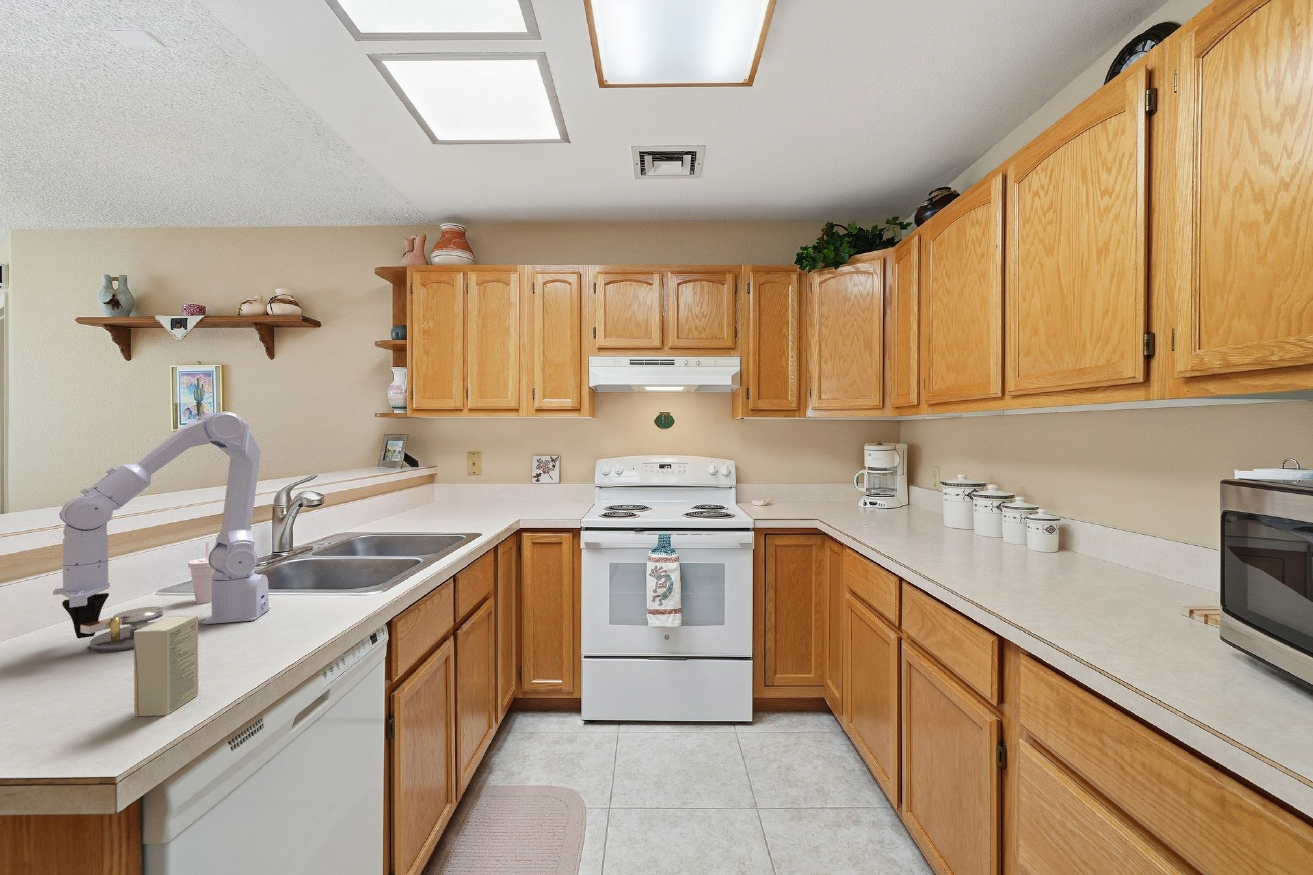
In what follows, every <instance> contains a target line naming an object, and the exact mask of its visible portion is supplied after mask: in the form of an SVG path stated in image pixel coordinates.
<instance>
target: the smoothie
mask: <svg viewBox="0 0 1313 875" xmlns="http://www.w3.org/2000/svg"><path fill="white" fill-rule="evenodd" d="M205 545H206V546H205V556H206V557H203V558H197V559H193V560H190V561H189V562H188V565H187V567H188V568H189V570H190V574H191V575H190V576H191V582H192V589H193V593H194V594H193V595H194V599H195V603H196V604H199V605H202V604H209V603H212V592H211V576H212V575H213V573H214V571H215V569H213V568H212V567H211V566H210V565H209V562H208V557H209V554H210V541H206V542H205Z"/></svg>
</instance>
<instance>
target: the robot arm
mask: <svg viewBox="0 0 1313 875" xmlns="http://www.w3.org/2000/svg"><path fill="white" fill-rule="evenodd" d="M209 444H211V445H213V446H216V447H218V448H219V450H221V451H222V452H223V453H225V454H226V456H229V460H230V461H229V466H228V475H227V482H226V491H225V498H224V506H223V512H222V513H223V515H222V520H221V530H220V531H219V533H218V535H217V536H216V539H215V543H214V547H213V548H212V549H211V550H210V551H209V557H208V562H209V565H210V566H211V567H212V568H213V569H215V571H214V573H213V575H212V576H211V592H212V602H211V616H210V617H208V618H207V619H205V620H203V621H201V624H202V625H210V624H222V623H223V624H224V623H225V624H226V623H237V622H249V621H251V622H252V621H255V620H257V619H258V618H260V617H261V616H262V615H264V614H265V613H266V612H268V611H269V610H270V609H271V607H270V605H269V603H270V602H269V598H270V597H269V596H270V595H269V579H268V577H267V575H265V574H257V573H255V568H256V567H257V565H258V555H257V553H256V551H255V540H254V537H253V533H252V523H253V515H254V506H255V500H256V493H257V492H256V491H257V483H258V475H259V467H260V458H261V447H260V446H259V444H258V443H257V441H256V439H255V437H254V435H253V433H252V431H251V428H250V424H249V423H248V422H247V421H245V420H244V419H243V418H242V417H240V416H239V415H238V414H237V413H234V412H230V411H219V412H207V413H203V414H202V415H200V416H198V417H197V419H196V420H191V421H190V422H188V423H187V424H184V426H182V427H180V428H179V429H178V430H176V431H175V432H173V434H171V435H169V437H168V438H166V439H165V440H163V441H162V442H161V443H160V444H158V445H157V446H156V447H155V448H153V449H152V450H151V451H149V452H148V453H147V454H146V455H145V456H143V457H142V458H141V459H140V460H138V461H137V462H136V463H134V464H133V463H131V464H129V463H125V464H120V465H119V466H118V467H113V466H112V467H109V469H107V470H106V471H105V473H106V475H105V476H104V477H102V478H101V479H99V480H98V481H97V482H96V483H94V484H93V485H92V486H89V488H86V487H83V488H82V489H81V490H79V492H80V493H81V494H82V495H80V496H76V497H73V498H71V499H69V500H67V501H66V502H65V503H64V505H62V508H61V510H60V512H59V513H58V515H59V518H60V520H61V521H62V522H63V523H64V528H63V532H62V533H63V536H64V537H63V539H62V587H60V588H55V589H54V590H52V595H54V596H56V595H62V596H63V597H66V598H68V599H64V600H63V601H62V607H63V608H64V610H66V612H67V613H68V615H69V616H70V618H71V620H72V624H73V629H74V632H75V633H74V634H75V636H76V638H77V640H78V639H85V638H90V637H95V635H96V632H94V633H91V634H87V633H81V627H80V625H81V624H85V623H89V622H93V621H100V617H101V616H100V615H101V612H102V610H103V607H104V604H105V603H106V601H107V599H108V597H109V596H110V594H109V592H104V591H106V590H109V589H110V587H111V583H110V582H109V536H108V523H109V522H110V521H111V519H112V516H113V513H114V511H116V510H119V509H121V508H122V507H123V506H125V505H126V504H128V503H129V502H130V501H131V500H132V499H134V498H135V497H136V496H138V495H139V494H141V492H143V491H144V490H145V489H147V488H148V487H150V485H151V479H152V475H154V474H155V473H156V472H158V471H159V470H161V469H162V468H163V467H164V466H166V465H167V464H169V463H170V462H171V461H173V460H174V459H176V458H177V457H178V456H180V455H182V454H183V453H185V451H187V450H188V449H190V448H194V447H198V446H204V445H209Z"/></svg>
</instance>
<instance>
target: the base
mask: <svg viewBox="0 0 1313 875" xmlns="http://www.w3.org/2000/svg"><path fill="white" fill-rule="evenodd" d="M110 618H111V619H110V628H109V631H106V632H103V633H101V634H98V635H97V636H93V638H91V640H90V643H89V644H90V645H89V648H90V651H91V652H95V653H116V652H118V653H119V652H124V651H125V652H126V651H131V650H130V649H133V650H134V631H136V630H138V629H141V628H143V627H145V626H147V625H150V624H152V623H154V622H155V621H147V622H142V623H137V624H129V625H126V626H123V627H121V625H120V617H114V618H113V617H110Z"/></svg>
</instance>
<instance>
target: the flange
mask: <svg viewBox="0 0 1313 875" xmlns="http://www.w3.org/2000/svg"><path fill="white" fill-rule="evenodd" d="M163 616H164V607H162V606H145V607H137V608H132V609H128V610H124V611H121V612H118V613H116V614H114V615H112V617H110V618H109V617H108V618H106V619H101V620H98V621H93V622H89V623H85V624H81V625H80V627H81V633H87V634H91V633H94V632H95V633H97V632H101V631H105V630H108V629H109V630H110V619H111V618H114V617H120V626H130V625H129V624H137V623H142V622H147V621H148V622H152V621H154V620H156V619H159V618H161V617H163Z"/></svg>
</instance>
